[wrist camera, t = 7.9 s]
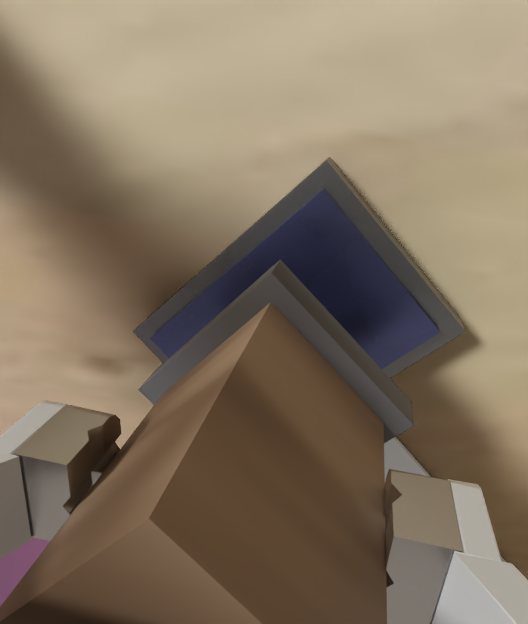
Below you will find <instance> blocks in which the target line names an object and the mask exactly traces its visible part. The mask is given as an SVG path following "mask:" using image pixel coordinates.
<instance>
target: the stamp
mask: <svg viewBox="0 0 528 624" xmlns="http://www.w3.org/2000/svg"><path fill="white" fill-rule="evenodd" d="M139 391H140V392H141V393H142V394H143V395H144V396H145V397H146V398H148V399H149V400H150V401H151V402H152V403H153V404H154V406H153V408H152V409H151V410H150V411H149V413H148V414H147V415H146V417H145V418H144V419H143V421H142V422H141V423H140V425H139V426H138V427H137V428H136V430H135V431H134V432H133V434H132V435H131V436H130V438H129V439H128V440H127V442H126V443H125V444H124V445H123V447H122V448H121V449H120V451H119V452H118V453H117V455H116V456H115V457H114V459H113V460H112V461H111V462H110V464H109V465H108V466H107V468H106V469H105V470H104V472H103V473H102V474H101V476H100V477H99V478H98V480H97V481H96V482H95V483H94V485H93V486H92V487H91V489H90V490H89V491H88V493H87V494H86V495H85V497H84V498H83V499H82V500H81V502H80V503H79V504H78V506H77V507H76V508H75V510H74V511H73V512H72V514H71V515H70V516H69V517H68V519H67V520H66V521H65V523H64V524H63V525H62V527H61V528H60V529H59V531H58V532H57V533H56V534H55V536H54V537H53V538H52V540H51V541H50V542H49V544H48V545H47V546H46V548H45V549H44V550H43V552H42V553H41V554H40V555H39V557H38V558H37V559H36V561H35V562H34V563H33V565H32V566H31V567H30V569H29V570H28V571H27V572H26V574H25V575H24V576H23V578H22V579H21V580H20V582H19V583H18V584H17V586H16V587H15V588H14V589H13V591H12V592H11V593H10V595H9V596H8V597H7V599H6V600H5V601H4V603H3V604H2V605H1V606H0V624H387V587H386V561H385V532H386V531H385V514H384V485H385V474H384V443H386V442H388V441H389V440H391V439H393V438H394V437H396V436H398V435H399V434H401V433H403V432H404V431H406V430H408V429H409V428H411V427H412V426H414V422H413V413H412V405H411V400H410V399H409V398H408V397H407V396H406V395H405V394H404V393H403V392H402V391H401V389H400V388H399V387H398V386H397V385H396V384H395V383H394V382H393V381H392V380H391V379H390V378H389V377H388V375H387V374H386V373H385V372H384V371H383V370H382V369H381V368H380V367H379V366H378V365H377V364H376V362H375V361H374V360H373V359H372V358H371V357H370V356H369V355H368V354H367V353H366V352H365V351H364V349H363V348H362V347H361V346H360V345H359V344H358V343H357V342H356V341H355V340H354V339H353V338H352V336H351V335H350V334H349V333H348V332H347V331H346V330H345V329H344V328H343V327H342V326H341V325H340V324H339V322H338V321H337V320H336V319H335V318H334V317H333V316H332V315H331V314H330V313H329V312H328V311H327V309H326V308H325V307H324V306H323V305H322V304H321V303H320V302H319V301H318V300H317V299H316V298H315V296H314V295H313V294H312V293H311V292H310V291H309V290H308V289H307V288H306V287H305V286H304V285H303V284H302V282H301V281H300V280H299V279H298V278H297V277H296V276H295V275H294V274H293V273H292V272H291V271H290V269H289V268H288V267H287V266H286V265H285V264H284V263H283V262H282V261H281V260H279V261H278V262H277V263H276V264H275V265H273V266H272V267H271V268H270V269H269V270H268V271H267V272H266V273H264V274H263V275H262V276H261V277H260V278H259V279H258V280H257V281H255V282H254V283H253V284H252V285H251V286H250V287H249V288H248V289H246V290H245V291H244V292H243V293H242V294H241V295H240V296H239V297H237V298H236V299H235V300H234V301H233V302H232V303H231V304H229V305H228V306H227V307H226V308H225V309H224V310H223V311H222V312H220V313H219V314H218V315H217V316H216V317H215V318H214V319H213V320H211V321H210V322H209V323H208V324H207V325H206V326H205V327H204V328H202V329H201V330H200V331H199V332H198V333H197V334H196V335H195V336H193V337H192V338H191V339H190V340H189V341H188V342H187V343H186V344H184V345H183V346H182V347H181V348H180V349H179V350H178V351H177V352H175V353H174V354H173V355H172V356H171V357H170V358H169V359H167V360H166V361H165V362H164V363H163V364H162V365H161V366H160V367H158V368H157V369H156V370H155V371H154V373H153V374H152V375H151V376H150V377H149V378H148V379H147V381H146V382H145V383H144V384H143V385H142V386H141V388H140V389H139Z"/></svg>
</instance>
